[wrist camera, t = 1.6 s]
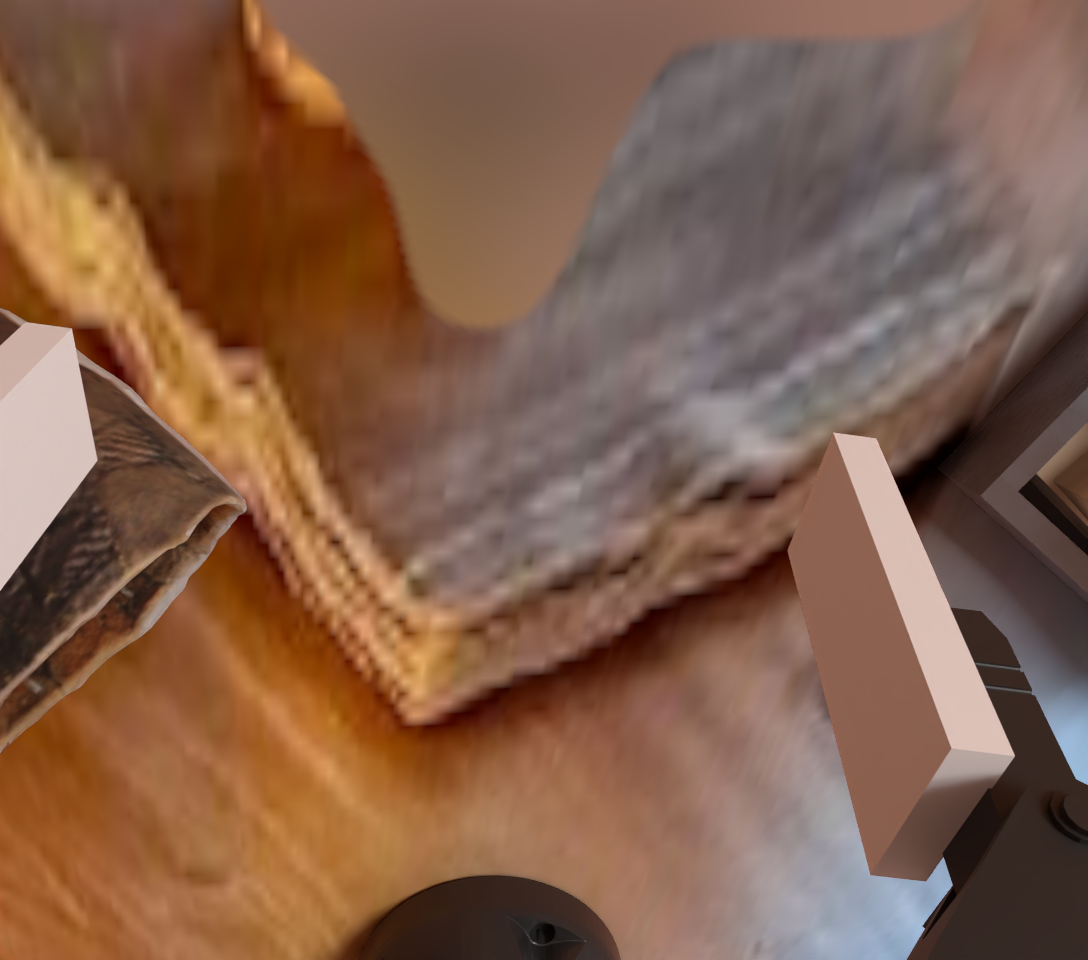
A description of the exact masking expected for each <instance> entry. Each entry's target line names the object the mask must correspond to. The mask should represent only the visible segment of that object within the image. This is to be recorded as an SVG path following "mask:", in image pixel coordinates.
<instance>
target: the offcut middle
mask: <svg viewBox="0 0 1088 960" xmlns="http://www.w3.org/2000/svg"><path fill="white" fill-rule="evenodd" d="M1053 482H1054V483H1055V484H1056V485H1057V486H1058V487H1059V488H1060V490H1061V491H1062V492H1063V493H1064V494H1065V495H1066V496H1067V498H1068V499H1069V500H1070V501H1071V502H1072V503H1073V504H1074V505H1075V507H1076V508H1077V509H1078V510H1079V511H1080V512H1081V513H1082V515H1083V516H1084V517H1085V518H1086V519H1087V520H1088V451H1087V452H1086V453H1085V454H1084V455H1083V456H1082V457H1081V458H1079V459H1078V460H1077V461H1076V462H1075V463H1074V464H1073V465H1071V466H1070V467H1069V468H1068V469H1067V470H1066V471H1065V472H1063V473H1062V474H1061V475H1060V476H1059V477H1058V478H1057V479H1055V480H1054V481H1053Z"/></svg>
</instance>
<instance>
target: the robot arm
mask: <svg viewBox="0 0 1088 960" xmlns="http://www.w3.org/2000/svg"><path fill="white" fill-rule="evenodd" d="M96 462H97V455H96V450H95V445H94V440H93V435H92V430H91V424H90V419H89V414H88V409H87V404H86V399H85V394H84V389H83V384H82V379H81V373H80V368H79V363H78V358H77V353H76V348H75V343H74V338H73V333H72V329H71V328H64V327H57V326H49V325H42V324H35V323H27V322H25V323H24V324H23V325H22V326H21V327H20V328H19V329H18V330H17V331H16V332H14V333H13V334H12V335H11V336H10V337H9V338H8V339H7V340H6V341H5V342H4V343H3V344H2V345H0V590H1V589H2V588H3V586H4V585H5V584H6V582H7V581H8V580H9V578H10V577H11V576H12V574H13V573H14V572H15V570H16V569H17V568H18V566H19V565H20V564H21V562H22V561H23V560H24V558H25V557H26V556H27V554H28V553H29V552H30V550H31V549H32V548H33V546H34V545H35V543H36V542H37V541H38V539H39V538H40V537H41V535H42V534H43V533H44V531H45V530H46V529H47V527H48V526H49V525H50V523H51V522H52V521H53V519H54V518H55V517H56V515H57V514H58V513H59V511H60V510H61V509H62V507H63V506H64V505H65V503H66V502H67V501H68V499H69V498H70V497H71V495H72V494H73V493H74V491H75V490H76V489H77V487H78V486H79V485H80V483H81V482H82V481H83V479H84V478H85V476H86V475H87V474H88V472H89V471H90V470H91V468H92V467H93V466H94V464H95V463H96ZM788 554H789V558H790V562H791V566H792V569H793V573H794V577H795V581H796V585H797V589H798V593H799V597H800V601H801V605H802V609H803V612H804V616H805V620H806V624H807V628H808V632H809V636H810V640H811V644H812V648H813V652H814V656H815V659H816V663H817V667H818V671H819V675H820V679H821V683H822V687H823V691H824V695H825V699H826V702H827V706H828V710H829V714H830V718H831V722H832V726H833V730H834V734H835V738H836V742H837V745H838V749H839V753H840V757H841V761H842V765H843V769H844V773H845V777H846V781H847V785H848V788H849V792H850V796H851V800H852V804H853V808H854V812H855V816H856V820H857V824H858V828H859V832H860V835H861V839H862V843H863V847H864V851H865V855H866V859H867V863H868V867H869V871H870V875H875V876H884V877H893V878H901V879H910V880H919V881H927V879H928V878H929V876H930V875H931V874H932V872H933V871H934V869H935V868H936V866H937V865H938V864H939V862H940V861H941V859H942V858H943V857H944V859H945V862H946V865H947V868H948V871H949V874H950V877H951V880H952V884H953V886H952V887H951V889H950V890H949V891H948V893H947V894H946V895H945V897H944V898H943V899H942V901H941V902H940V903H939V905H938V906H937V907H936V909H935V910H934V911H933V913H932V914H931V915H930V917H929V918H928V919H927V921H926V922H925V923H924V925H923V927H924V928H925V930H924V932H923V933H922V935H921V937H920V938H919V940H918V942H917V943H916V945H915V947H914V948H913V950H912V952H911V953H910V955H909V957H908V958H907V960H1088V785H1086V784H1084V783H1082V782H1080V781H1078V780H1076V779H1075V777H1074V775H1073V773H1072V771H1071V769H1070V766H1069V764H1068V762H1067V760H1066V758H1065V756H1064V754H1063V752H1062V750H1061V748H1060V746H1059V744H1058V742H1057V740H1056V738H1055V736H1054V734H1053V732H1052V730H1051V728H1050V726H1049V724H1048V721H1047V719H1046V717H1045V715H1044V713H1043V711H1042V709H1041V707H1040V705H1039V703H1038V701H1037V699H1036V697H1035V696H1034V695H1032V694H1031V691H1032V689H1031V687H1030V685H1029V683H1028V681H1027V679H1026V676H1025V674H1024V672H1020V667H1021V666H1020V664H1019V662H1018V660H1017V658H1016V656H1015V654H1014V652H1013V650H1012V648H1011V646H1010V644H1009V642H1008V640H1007V638H1006V637H1005V636H1004V635H1003V634H1002V633H1001V632H1000V631H999V630H998V629H997V627H996V626H995V625H994V624H993V623H992V622H991V621H990V620H989V619H988V618H987V617H986V616H985V615H984V614H983V613H982V612H980V611H973V610H965V609H957V608H950V606H949V604H948V602H947V599H946V597H945V595H944V593H943V590H942V588H941V586H940V583H939V581H938V579H937V577H936V574H935V572H934V570H933V567H932V565H931V563H930V561H929V558H928V556H927V554H926V551H925V549H924V547H923V545H922V542H921V540H920V538H919V535H918V533H917V531H916V529H915V526H914V524H913V522H912V519H911V517H910V515H909V513H908V510H907V508H906V506H905V503H904V501H903V499H902V497H901V494H900V492H899V490H898V487H897V485H896V483H895V481H894V478H893V476H892V474H891V471H890V469H889V467H888V465H887V462H886V460H885V458H884V455H883V453H882V451H881V449H880V446H879V444H878V442H877V439H876V438H868V437H861V436H854V435H846V434H839V433H833V435H832V437H831V440H830V443H829V445H828V448H827V450H826V453H825V456H824V458H823V461H822V463H821V466H820V468H819V471H818V474H817V476H816V479H815V481H814V484H813V487H812V489H811V492H810V494H809V497H808V499H807V502H806V505H805V507H804V510H803V512H802V515H801V518H800V520H799V523H798V525H797V528H796V530H795V533H794V536H793V538H792V541H791V543H790V546H789V548H788ZM358 960H620V955H619V952H618V948H617V946H616V943H615V941H614V939H613V937H612V935H611V933H610V931H609V930H608V928H607V927H606V925H605V924H604V923H603V921H602V920H601V919H600V918H599V917H598V916H597V915H596V914H595V913H594V912H593V911H592V910H591V909H590V908H589V907H588V906H586V905H585V904H584V903H582V902H581V901H580V900H578V899H577V898H575V897H573V896H572V895H570V894H568V893H566V892H564V891H562V890H560V889H558V888H555V887H553V886H550V885H547V884H544V883H541V882H537V881H534V880H529V879H524V878H517V877H506V876H484V877H474V878H467V879H461V880H457V881H453V882H449V883H445V884H442V885H439V886H436V887H434V888H431V889H429V890H427V891H424V892H422V893H420V894H418V895H416V896H414V897H412V898H411V899H409V900H408V901H406V902H404V903H403V904H401V905H400V906H399V907H397V908H396V909H395V910H394V911H392V912H391V913H390V914H389V915H388V916H387V917H386V918H385V919H383V920H382V922H381V923H380V924H379V925H378V926H377V927H376V928H375V930H374V931H373V932H372V934H371V935H370V937H369V938H368V940H367V941H366V943H365V945H364V947H363V949H362V951H361V953H360V956H359V958H358Z"/></svg>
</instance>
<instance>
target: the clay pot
mask: <svg viewBox="0 0 1088 960" xmlns="http://www.w3.org/2000/svg"><path fill="white" fill-rule="evenodd" d="M25 322H26V321H25V320H23V319H21V318H20V317H18V316H16V315H15V314H13V313H11V312H10V311H8V310H5V309H1V308H0V345H2V344H3V343H4V342H5V341H6V340H7V339H8V338H9V337H10V336H11V335H12V334H13V333H14V332H16V331H17V330H18V329H19V328H20V327H21V326H22V325H23V324H24V323H25ZM27 323H28V322H27ZM76 353H77V358H78V363H79V368H80V373H81V379H82V384H83V389H84V394H85V399H86V404H87V409H88V414H89V419H90V424H91V430H92V435H93V440H94V445H95V450H96V455H97V462H96V463H95V464H94V466H93V467H92V468H91V470H90V471H89V472H88V474H87V475H86V476H85V478H84V479H83V481H82V482H81V483H80V485H79V486H78V487H77V489H76V490H75V491H74V493H73V494H72V495H71V497H70V498H69V499H68V501H67V502H66V503H65V505H64V506H63V507H62V509H61V510H60V511H59V513H58V514H57V515H56V517H55V518H54V519H53V521H52V522H51V523H50V525H49V526H48V527H47V529H46V530H45V531H44V533H43V534H42V535H41V537H40V538H39V539H38V541H37V542H36V543H35V545H34V546H33V548H32V549H31V550H30V552H29V553H28V554H27V556H26V557H25V558H24V560H23V561H22V562H21V564H20V565H19V566H18V568H17V569H16V570H15V572H14V573H13V574H12V576H11V577H10V578H9V580H8V581H7V582H6V584H5V585H4V586H3V588H2V589H1V590H0V754H1V753H2V752H3V751H4V750H5V749H6V748H7V747H8V746H9V745H10V744H11V743H12V742H13V741H14V740H15V739H16V738H17V737H18V736H19V735H20V734H21V733H23V732H24V731H25V730H26V729H27V728H28V727H30V726H31V725H32V724H34V723H35V722H37V721H38V720H39V719H40V718H41V717H42V716H43V715H44V714H45V713H46V712H47V711H48V710H49V709H50V708H52V707H53V706H54V705H55V704H56V703H57V702H59V701H60V700H61V699H62V698H63V697H65V696H66V695H68V694H69V693H71V692H73V691H74V690H76V689H78V688H79V687H81V686H82V685H83V684H84V683H85V681H86V680H87V679H88V678H89V677H90V676H91V674H93V673H94V672H95V671H96V670H97V669H98V668H99V667H100V666H101V665H102V664H103V663H104V662H105V661H106V660H107V659H109V658H110V657H111V656H113V655H114V654H115V653H117V652H118V651H120V650H121V649H123V648H124V647H126V646H127V645H129V644H130V643H132V642H133V641H135V640H136V639H138V638H140V637H141V636H142V635H144V634H145V633H146V632H147V631H148V630H150V629H151V628H152V626H153V625H154V624H155V623H156V622H157V621H158V619H159V618H160V617H161V616H162V614H163V613H164V612H165V610H166V609H167V608H168V606H169V605H170V604H171V603H172V601H173V600H174V599H175V598H176V597H177V596H178V595H179V594H180V593H181V592H182V591H183V590H184V589H185V586H186V583H187V581H188V579H189V577H190V576H191V575H192V574H193V573H194V572H195V571H196V570H197V569H198V568H199V567H200V566H201V565H202V564H203V562H204V561H205V560H206V559H207V557H208V556H209V555H210V553H211V552H212V550H213V548H214V547H215V545H216V543H217V541H218V539H219V538H220V537H221V536H222V535H223V534H224V533H226V531H227V530H228V528H230V526H231V524H232V523H233V522H234V521H235V520H236V519H237V517H238V516H239V515H241V514H243V513H244V512H245V511H246V510H247V508H246V501H245V500H244V499H243V497H242V496H241V495H240V493H239V492H238V491H237V490H236V489H235V488H234V487H233V486H232V485H231V484H230V483H229V482H228V481H227V480H226V479H225V478H224V477H223V476H222V475H221V474H220V473H219V472H218V471H217V470H216V469H215V468H214V467H213V466H212V465H211V464H210V463H209V462H208V461H207V459H205V458H204V457H203V456H202V455H201V454H200V453H199V452H198V451H197V450H196V449H195V448H194V447H193V446H192V445H191V444H190V443H189V442H187V441H186V440H185V439H184V438H183V437H181V436H180V435H179V434H178V433H177V432H176V431H174V430H173V429H172V428H171V427H170V426H169V425H167V424H166V423H165V422H164V421H163V420H161V419H160V418H159V417H158V416H157V415H156V414H155V413H154V412H153V411H152V410H151V409H150V408H149V407H148V406H147V405H146V404H145V403H144V401H143V400H142V399H141V398H140V396H139V395H138V394H137V393H136V392H135V391H134V390H133V389H132V388H131V387H129V386H128V385H127V384H125V383H124V382H122V381H121V380H119V379H118V378H116V377H115V376H113V375H112V374H110V373H109V372H107V371H106V370H104V369H103V368H101V367H99V366H98V365H96V364H95V363H93V362H92V361H91V360H89V359H88V358H87V357H86V356H84V355H83V354H82V353H81V352H79V351H78V350H77V349H76Z"/></svg>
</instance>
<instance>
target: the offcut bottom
mask: <svg viewBox="0 0 1088 960" xmlns="http://www.w3.org/2000/svg"><path fill="white" fill-rule="evenodd" d="M1087 451H1088V422H1087V423H1086V424H1085V425H1084V426H1083V427H1082V428H1081V429H1080V430H1079V431H1078V432H1077V433H1076V434H1075V435H1074V436H1073V437H1072V438H1071V439H1070V440H1069V441H1068V442H1067V443H1066V444H1065V445H1064V446H1063V447H1062V448H1061V449H1060V450H1059V451H1058V452H1057V453H1056V454H1055V455H1054V456H1053V457H1052V458H1051V459H1050V460H1049V461H1048V462H1047V463H1046V464H1045V465H1044V466H1043V467H1042V468H1041V469H1040V470H1039V471H1038V472H1037V473H1036V474H1035V475H1034V476H1033V477H1032V478H1031V479H1030V481H1031V482H1032V483H1033V484H1034V485H1035V486H1036V487H1037V488H1038V489H1039V490H1040V491H1041V492H1042V493H1043V494H1044V495H1045V496H1046V498H1047V499H1048V500H1049V501H1050V502H1051V503H1052V504H1053V505H1054V506H1055V507H1056V508H1057V509H1058V510H1059V511H1060V512H1061V513H1062V514H1063V515H1064V516H1065V517H1066V518H1067V519H1068V520H1069V521H1070V522H1071V523H1072V524H1073V525H1074V526H1075V527H1076V528H1077V529H1078V530H1079V531H1080V532H1081V533H1082V534H1083V535H1084V536H1085V537H1086V538H1087V539H1088V520H1087V519H1086V518H1085V517H1084V516H1083V515H1082V513H1081V512H1080V511H1079V510H1078V509H1077V508H1076V507H1075V505H1074V504H1073V503H1072V502H1071V501H1070V500H1069V499H1068V498H1067V496H1066V495H1065V494H1064V493H1063V492H1062V491H1061V490H1060V488H1059V487H1058V486H1057V485H1056V484H1055V483H1054V482H1053V481H1054V480H1055V479H1057V478H1058V477H1059V476H1060V475H1061V474H1062V473H1063V472H1065V471H1066V470H1067V469H1068V468H1069V467H1070V466H1071V465H1073V464H1074V463H1075V462H1076V461H1077V460H1078V459H1079V458H1081V457H1082V456H1083V455H1084V454H1085V453H1086V452H1087Z"/></svg>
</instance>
